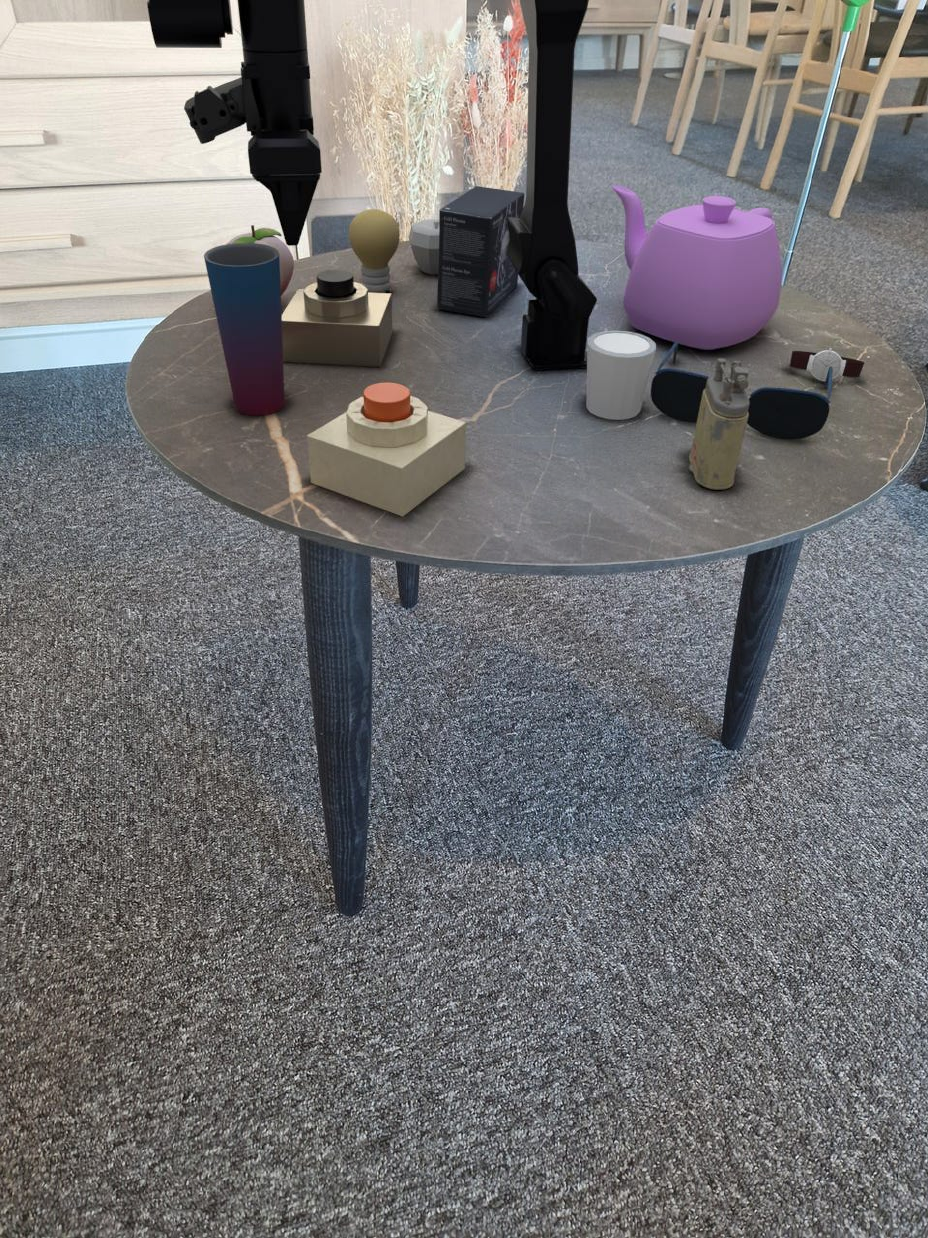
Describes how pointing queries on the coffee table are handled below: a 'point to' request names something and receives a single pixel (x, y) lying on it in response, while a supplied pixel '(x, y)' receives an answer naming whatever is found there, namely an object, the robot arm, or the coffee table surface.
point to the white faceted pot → (426, 244)
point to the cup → (249, 323)
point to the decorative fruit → (268, 239)
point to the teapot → (701, 272)
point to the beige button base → (337, 327)
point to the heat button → (335, 283)
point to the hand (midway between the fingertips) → (290, 230)
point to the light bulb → (374, 247)
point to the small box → (476, 250)
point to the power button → (386, 402)
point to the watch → (826, 364)
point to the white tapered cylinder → (618, 373)
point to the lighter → (720, 427)
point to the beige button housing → (387, 456)
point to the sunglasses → (767, 410)
